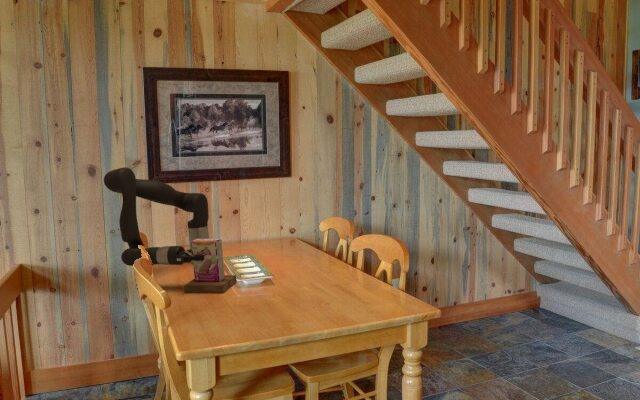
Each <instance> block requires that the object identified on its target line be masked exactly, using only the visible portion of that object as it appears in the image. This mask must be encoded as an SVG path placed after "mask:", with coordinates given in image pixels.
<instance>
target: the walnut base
mask: <svg viewBox="0 0 640 400" xmlns="http://www.w3.org/2000/svg"><path fill="white" fill-rule="evenodd" d="M235 284H237V275H236V274H234V275H232V274H231V275H229V274H227V275H225V279H224V280H222V281H221V282H203V281H195V278H193V279H191V280H190V281H189V282H187V283H185V284H184V285H183V292H184V294H224V293H225V292H227V291H228V290H229V289H231V288H232V287H233V286H234V285H235Z"/></svg>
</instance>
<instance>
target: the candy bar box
mask: <svg viewBox="0 0 640 400" xmlns="http://www.w3.org/2000/svg"><path fill="white" fill-rule="evenodd" d="M222 243H223V241H222V238H209V239H195V240H193V241H191V246H192V254H193V255H204V260H203V261H194V262H193V264H192V266H193V274H194V279H195V281H203V282H221V281H222V280H224V279H225V274H226V273H225V265H224V254H223V244H222Z"/></svg>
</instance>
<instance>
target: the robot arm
mask: <svg viewBox="0 0 640 400" xmlns="http://www.w3.org/2000/svg"><path fill="white" fill-rule="evenodd" d="M103 183H104V185H105V187H106V188H107V190H109V191H111V192H113V193H117V194H121V197H122V203H121V204H122V205H121V210H120V214H119V222H118V223H119V230H120V231H119V232H120V236H121V240H122V241H123V243H127V245H128V248H125V249H124V251H123V252H122V253H121V256H120V258H121V259H120V260H121V261H122V263H123V265H126V266H130V267H134V266H133V264H134V261H135V260H136V259H139V258H141V257H142V256H141V254H142V253H141V249H139V248H138V245H142V246H144V247H145V250H146V251H147V252H148V254H149V255H150V258H151V260H152V263H153V264H152V265H154V266H155V265H162V266H180V265H183V264H186V263H187V264H188V263H189V264H190V263H191V264H192V265H193V262H194V261H203V260H204V255H193V254H192V246H191V241H193V240H195V239H210V236H209V235H210V234H209V224H208V223H209V202H208V197H207V196H206V195H205V194H204V193H199V192H183V191H179V190H176V189H175V188H174V187H173V186H171V185H170V184H168V183H166V182H162V181H160V180H155V179H146V178H145V179H144V178H143V179H142V178H141V179H140V178H136V175H135V173H134V171H133V170H132V169H131V168H129V167H126V166H125V167H119V168H117V169H112V170H110V171H108V172H107V173H106V174H105V175H104V177H103ZM137 197H138V198H141V199H144V200H147V201H151V202H153V203H157V204H161V205H165V206H171V207H172V206H173V207H175V208H177V209H180V210H182V211H185V212H187V213H191V214H192V213H193V217H192V219H190V220H188V221H187V233H188V240H189V248H188V249H185V248H184V247H183V245H168V246H167V245H165V246H151V247H146V246H145V244H144V242H143V239H142V237H141V234H140V230H139V223H138V217H137Z"/></svg>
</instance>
